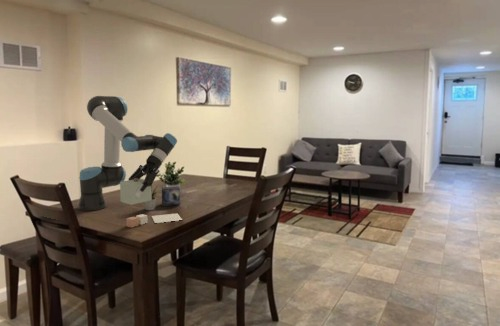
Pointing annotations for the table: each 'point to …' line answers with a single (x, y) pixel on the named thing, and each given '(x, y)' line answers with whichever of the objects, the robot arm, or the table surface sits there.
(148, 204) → the house plant
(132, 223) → the cube
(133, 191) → the cover
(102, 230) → the table surface
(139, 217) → the cube
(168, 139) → the robot arm
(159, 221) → the mat
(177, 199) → the small box
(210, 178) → the table surface
